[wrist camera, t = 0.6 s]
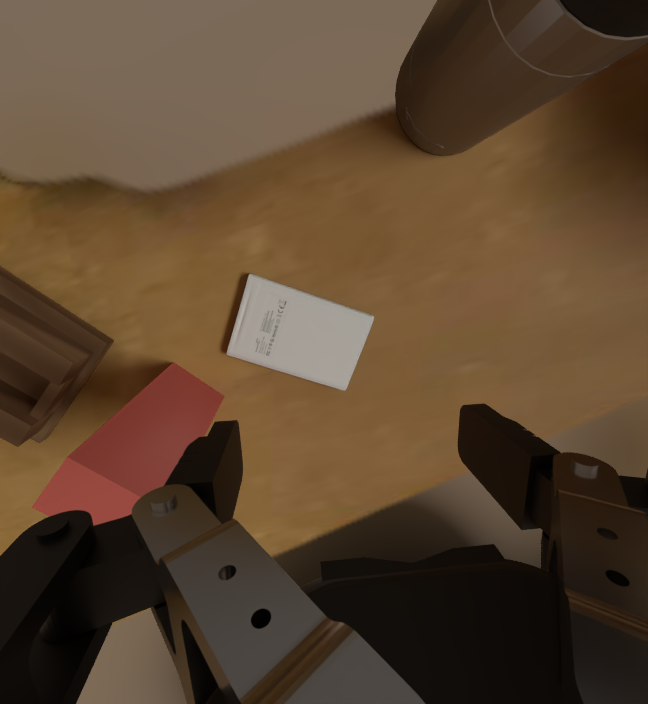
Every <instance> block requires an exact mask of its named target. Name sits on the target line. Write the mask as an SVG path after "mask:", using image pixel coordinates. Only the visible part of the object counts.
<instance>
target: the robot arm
mask: <svg viewBox="0 0 648 704" xmlns="http://www.w3.org/2000/svg"><path fill="white" fill-rule="evenodd" d="M647 43H648V0H437V2H436V4H435V5H434V7H433V9H432V11H431V12H430V14H429V16H428V18H427V20H426V22H425V23H424V25H423V26H422V28H421V30H420V32H419V34H418V35H417V37H416V39H415V41H414V43H413V44H412V46H411V48H410V50H409V52H408V54H407V55H406V57H405V59H404V61H403V63H402V66H401V68H400V71H399V75H398V78H397V83H396V92H395V98H396V109H397V113H398V117H399V121H400V123H401V125H402V127H403V129H404V131H405V133H406V134H407V135H408V137H409V138H410V139H411V141H412V142H413V143H415V144H416V145H417V146H418V147H419V148H421V149H423V150H425V151H427V152H429V153H431V154H436V155H441V156H442V155H454V154H458V153H461V152H464V151H466V150H467V149H469V148H471V147H473V146H475V145H476V144H478V143H480V142H481V141H483V140H485V139H486V138H488V137H490V136H492V135H494V134H495V133H497V132H499V131H500V130H502V129H504V128H506V127H507V126H509V125H511V124H512V123H514V122H516V121H517V120H519V119H521V118H522V117H524V116H526V115H527V114H529V113H531V112H533V111H534V110H536V109H538V108H539V107H541V106H543V105H544V104H546V103H548V102H549V101H551V100H553V99H554V98H556V97H558V96H560V95H561V94H563V93H565V92H566V91H568V90H570V89H571V88H573V87H575V86H576V85H578V84H580V83H582V82H583V81H585V80H587V79H588V78H590V77H592V76H593V75H595V74H597V73H598V72H600V71H602V70H603V69H605V68H607V67H608V66H610V65H611V64H613V63H615V62H616V61H618V60H620V59H621V58H623V57H625V56H626V55H628V54H630V53H632V52H633V51H635V50H637V49H638V48H640V47H642V46H643V45H645V44H647ZM458 452H459V456H460V458H461V460H462V462H463V463H464V464H465V466H466V467H467V468H468V469H469V470H470V471H471V472H472V474H473V475H474V476H475V477H476V478H477V479H478V480H479V482H480V483H481V484H482V485H483V486H484V487H485V488H486V490H487V491H488V492H489V493H490V494H491V495H492V497H493V498H494V499H495V500H496V501H497V502H498V503H499V505H500V506H501V507H502V508H503V509H504V510H505V511H506V512H507V514H508V515H509V516H510V517H511V518H512V519H513V521H514V522H515V523H516V524H517V525H518V526H519V528H520V529H521V530H527V529H537V528H541V529H542V530H543V531H542V538H541V569H540V568H537V567H534V566H532V565H528V564H525V563H522V562H518V561H513V560H508V559H504V557H503V556H502V555H501V553H500V552H499V551H498V549H497V548H496V546H495V545H494V544H491V545H481V546H472V547H462V548H453V549H450V550H447V551H445V552H442V553H439V554H436V555H433V556H431V557H428V558H425V559H423V560H420V561H417V562H413V563H408V562H399V561H390V560H382V559H374V558H365V557H363V558H353V559H344V560H334V561H325V562H320V564H321V578H319V579H316V580H314V581H312V582H310V583H308V584H306V585H304V586H302V587H301V588H299V587H298V585H297V584H296V583H295V582H294V581H293V580H292V579H291V578H290V577H289V576H288V575H287V574H286V573H285V571H283V569H282V568H281V567H280V566H279V565H278V564H277V563H276V562H275V561H274V560H273V559H272V558H271V557H270V555H269V554H268V553H267V552H266V551H265V550H264V549H263V548H262V547H261V546H260V545H259V544H258V543H257V542H256V540H255V539H254V538H253V537H252V536H251V535H250V534H249V533H248V532H247V531H246V530H245V529H244V528H243V527H242V525H241V524H240V523H239V522H238V521H237V520H235V519H232V518H233V514H234V510H235V506H236V502H237V498H238V494H239V490H240V486H241V482H242V475H243V460H242V450H241V441H240V431H239V424H238V421H237V420H233V421H218V422H215V423H214V424H213V426H212V428H211V430H210V432H209V434H208V436H205V437H198V438H197V439H196V440H194V441H193V442H192V443H190V444H189V445H188V446H187V448H186V449H185V451H184V453H183V456H181V458H180V459H179V461H178V464H176V466H175V468H174V469H173V471H172V473H171V474H170V476H169V478H168V479H167V481H166V483H165V485H164V486H163V487H159V488H157V489H154V490H152V491H150V492H148V493H147V494H145V495H144V496H142V497H141V498H140V499H139V500H138V501H137V502H136V503H135V504H134V506H133V508H132V513H131V514H130V515H128V516H125V517H122V518H119V519H115V520H112V521H108V522H105V523H101V524H98V525H93V520H92V517H91V514H90V513H88V512H86V511H83V510H71V511H66V512H62V513H58V514H55V515H53V516H50V517H48V518H46V519H43V520H41V521H39V522H38V523H36V524H34V525H33V526H31V527H30V528H28V529H27V530H26V531H24V532H23V533H22V534H21V535H20V536H19V537H18V538H17V539H16V540H15V541H14V542H13V543H12V544H11V545H10V546H9V547H8V549H7V550H6V551H5V552H4V553H3V554H2V555H1V556H0V704H76V702H77V700H78V698H79V696H80V694H81V691H82V689H83V687H84V685H85V683H86V680H87V678H88V676H89V674H90V672H91V669H92V667H93V665H94V663H95V660H96V658H97V656H98V654H99V651H100V649H101V647H102V645H103V643H104V641H105V638H106V636H107V634H108V632H109V630H110V627H111V625H112V622H115V621H117V620H120V619H122V618H125V617H127V616H130V615H132V614H135V613H137V612H140V611H143V610H145V609H148V608H150V607H151V611H152V613H153V615H154V618H155V620H156V622H157V625H158V627H159V630H160V632H161V634H162V637H163V639H164V641H165V644H166V646H167V649H168V651H169V653H170V655H171V658H172V660H173V663H174V665H175V667H176V670H177V673H178V675H179V678H180V681H181V685H182V688H183V692H184V695H185V699H186V702H187V704H648V470H647V474H646V478H638V477H627V476H619V475H618V473H617V472H616V470H615V469H614V468H613V467H612V466H610V465H609V464H607V463H605V462H603V461H601V460H599V459H597V458H594V457H591V456H588V455H584V454H579V453H572V452H569V453H568V452H564V453H560V452H559V451H558V450H556V449H555V448H553V447H552V446H550V445H549V444H548V443H546V442H545V441H543V440H542V439H540V438H539V437H536V435H535V434H533V433H532V432H530V431H527V429H526V428H524V427H523V426H521V425H520V424H519V423H517V422H515V421H513V420H511V419H508V418H506V417H503V416H502V415H500V414H499V413H498V412H496V411H495V410H493V409H492V408H491V407H489V406H488V405H486V404H472V405H463V406H462V407H461V409H460V418H459V433H458Z"/></svg>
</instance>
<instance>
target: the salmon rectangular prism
mask: <svg viewBox="0 0 648 704" xmlns="http://www.w3.org/2000/svg"><path fill="white" fill-rule="evenodd" d="M223 398H224V396H223V395H222V394H220V393H219V392H217V391H216V390H214V389H213V388H211V387H210V386H208V385H207V384H205V383H204V382H202V381H201V380H199V379H198V378H196V377H195V376H193V375H192V374H190V373H189V372H187V371H186V370H184V369H183V368H181V367H180V366H178V365H177V364H175V363H174V362H173V363H172V364H171V365H170V366H169V367H168V368H166V369H165V370H164V371H163V372H162V373H161V374H160V375H159V376H158V377H156V378H155V379H154V380H153V381H152V382H151V383H150V384H149V385H147V386H146V387H145V388H144V389H143V390H142V391H141V392H140V393H139V394H137V395H136V396H135V397H134V398H133V399H132V400H131V401H130V402H128V403H127V404H126V405H125V406H124V407H123V408H122V409H121V410H120V411H118V412H117V413H116V414H115V415H114V416H113V417H112V418H111V419H109V420H108V421H107V422H106V423H105V424H104V425H103V426H102V427H100V428H99V429H98V430H97V431H96V432H95V433H94V434H93V435H92V436H90V437H89V438H88V439H87V440H86V441H85V442H84V443H83V444H81V445H80V446H79V447H78V448H77V449H76V450H75V451H74V452H73V453H71V454H70V455H69V456H68V457H67V458H66V460H65V461H64V463H63V464H62V465H61V467H60V468H59V470H58V471H57V472H56V474H55V475H54V477H53V478H52V479H51V481H50V482H49V484H48V485H47V487H46V488H45V489H44V491H43V492H42V494H41V495H40V496H39V498H38V499H37V501H36V502H35V503H34V505H33V506H32V508H34V509H36V510H38V511H40V512H42V513H44V514H46V515H48V516H53V515H55V514H58V513H62V512H66V511H71V510H83V511H86V512H88V513H90V514H91V517H92V520H93V525H98V524H101V523H105V522H108V521H112V520H115V519H119V518H122V517H125V516H128V515H130V514H131V513H132V508H133V506H134V504H135V503H136V502H137V501H138V500H139V499H140V498H141V497H142V496H144V495H145V494H147V493H148V492H150V491H152V490H154V489H157V488H159V487H163V486H164V485H165V483H166V481H167V479H168V478H169V476H170V474H171V473H172V471H173V469H174V468H175V466H176V464H178V461H179V459H180V458H181V456H183V453H184V451H185V449H186V448H187V446H188V445H189V444H190V443H192V442H193V441H194V440H196V439H197V438H198V437H204V435H205V434H206V432H207V430H208V428H209V426H210V424H211V422H212V420H213V418H214V416H215V414H216V412H217V410H218V408H219V406H220V404H221V402H222V400H223Z"/></svg>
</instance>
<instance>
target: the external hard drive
mask: <svg viewBox="0 0 648 704" xmlns="http://www.w3.org/2000/svg"><path fill="white" fill-rule="evenodd" d="M373 320H374V317H373V315H370V314H367V313H364V312H362V311H359V310H356V309H353V308H350V307H347V306H344V305H341V304H338V303H335V302H332V301H330V300H327V299H324V298H321V297H318V296H315V295H312V294H309V293H306V292H303V291H300V290H298V289H295V288H292V287H289V286H286V285H283V284H280V283H277V282H274V281H271V280H269V279H266V278H263V277H260V276H257V275H254V274H249V276H248V279H247V283H246V287H245V290H244V294H243V297H242V301H241V304H240V308H239V311H238V315H237V318H236V322H235V325H234V329H233V332H232V336H231V339H230V343H229V346H228V349H227V354H226V355H229V356H232V357H235V358H239V359H242V360H245V361H248V362H251V363H255V364H258V365H261V366H264V367H268V368H271V369H274V370H277V371H281V372H284V373H287V374H290V375H294V376H297V377H300V378H304V379H307V380H310V381H313V382H317V383H320V384H323V385H327V386H330V387H333V388H337V389H340V390H343V391H345V390H346V388H347V386H348V383H349V381H350V378H351V376H352V373H353V371H354V368H355V366H356V363H357V361H358V358H359V356H360V353H361V351H362V348H363V346H364V343H365V341H366V338H367V336H368V333H369V331H370V328H371V326H372V323H373Z"/></svg>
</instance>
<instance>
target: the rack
mask: <svg viewBox="0 0 648 704" xmlns="http://www.w3.org/2000/svg"><path fill="white" fill-rule="evenodd" d="M113 342H114V340H112V339H111V338H109V337H108V336H106V335H105V334H103V333H102V332H100V331H99V330H97V329H96V328H94V327H93V326H91V325H89V324H88V323H86V322H85V321H83V320H82V319H80V318H79V317H77V316H76V315H74V314H73V313H71V312H69V311H68V310H66V309H65V308H63V307H62V306H60V305H59V304H57V303H56V302H54V301H53V300H51V299H50V298H48V297H46V296H45V295H43V294H42V293H40V292H39V291H37V290H36V289H34V288H33V287H31V286H30V285H28V284H27V283H25V282H23V281H22V280H20V279H19V278H17V277H16V276H14V275H13V274H11V273H10V272H8V271H7V270H5V269H4V268H2V267H0V438H2V439H4V440H6V441H8V442H10V443H12V444H13V445H15V446H17V447H18V446H20V445H21V444H23V443H24V442H25V441H27V440H28V439H30V438H31V439H33V440H35V441H36V442H38V443H41V442H42V441H43V440H45V439H46V438H47V437H48V436H49V435H50V434H51V432H52V431H53V429H54V428H55V426H56V425H57V423H58V422H59V420H60V419H61V417H62V416H63V415H64V413H65V412H66V410H67V409H68V407H69V406H70V404H71V403H72V401H73V400H74V399H75V397H76V396H77V394H78V393H79V391H80V390H81V388H82V387H83V385H84V384H85V382H86V381H87V380H88V378H89V377H90V375H91V374H92V372H93V371H94V369H95V368H96V366H97V365H98V363H99V362H100V361H101V359H102V358H103V356H104V355H105V353H106V352H107V350H108V349H109V347H110V346H111V345H112V343H113Z"/></svg>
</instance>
